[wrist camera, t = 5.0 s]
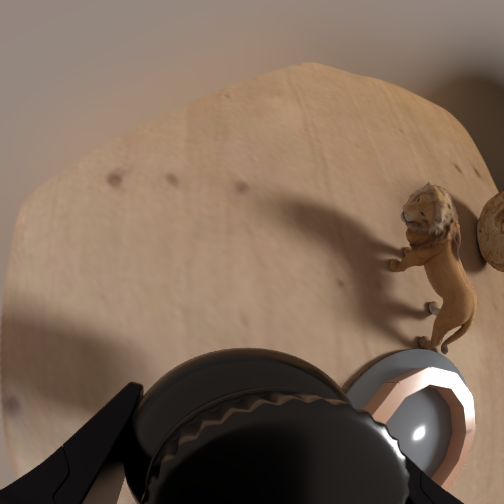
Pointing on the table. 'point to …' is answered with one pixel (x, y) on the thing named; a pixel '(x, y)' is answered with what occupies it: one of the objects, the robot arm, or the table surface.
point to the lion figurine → (438, 261)
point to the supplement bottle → (258, 437)
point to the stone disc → (492, 231)
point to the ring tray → (421, 409)
